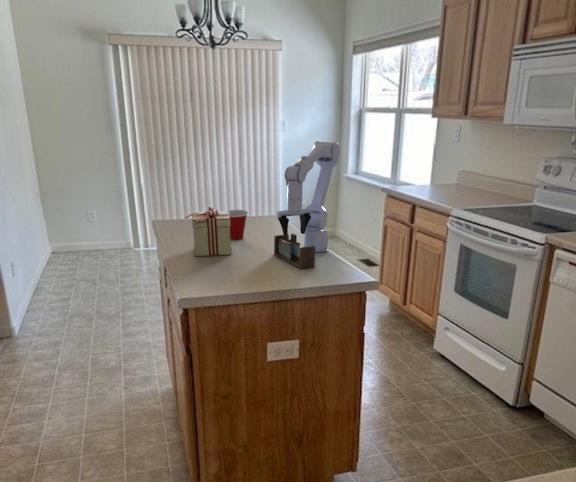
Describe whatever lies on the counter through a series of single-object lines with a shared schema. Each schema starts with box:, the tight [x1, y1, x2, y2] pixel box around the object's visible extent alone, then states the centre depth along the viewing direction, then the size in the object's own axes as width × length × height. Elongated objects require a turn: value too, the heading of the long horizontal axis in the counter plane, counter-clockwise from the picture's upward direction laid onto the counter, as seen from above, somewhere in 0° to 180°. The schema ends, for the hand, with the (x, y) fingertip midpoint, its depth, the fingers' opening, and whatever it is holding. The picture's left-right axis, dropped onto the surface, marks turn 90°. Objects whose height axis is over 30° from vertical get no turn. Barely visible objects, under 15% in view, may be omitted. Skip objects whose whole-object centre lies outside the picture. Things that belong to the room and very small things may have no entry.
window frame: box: [273, 233, 316, 270], centre depth 206 cm, size 6×22×8 cm, turn 28°
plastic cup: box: [227, 209, 249, 241], centre depth 237 cm, size 11×11×12 cm
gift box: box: [184, 206, 232, 257], centre depth 214 cm, size 17×18×17 cm
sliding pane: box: [287, 233, 301, 259], centre depth 208 cm, size 1×9×9 cm, turn 28°
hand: (294, 234), depth 207 cm, fingers open, 7 cm apart
